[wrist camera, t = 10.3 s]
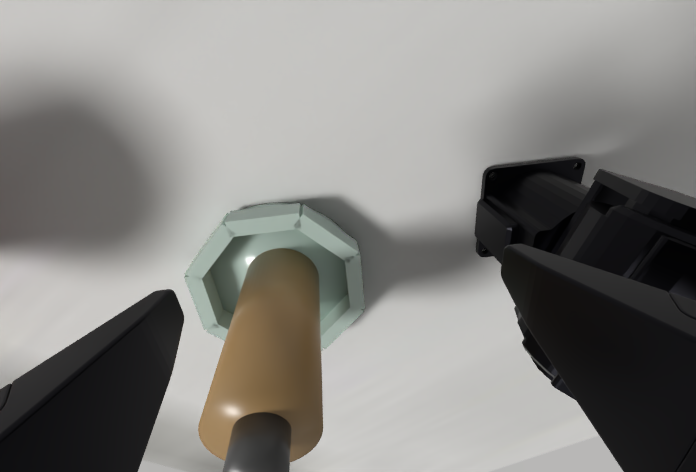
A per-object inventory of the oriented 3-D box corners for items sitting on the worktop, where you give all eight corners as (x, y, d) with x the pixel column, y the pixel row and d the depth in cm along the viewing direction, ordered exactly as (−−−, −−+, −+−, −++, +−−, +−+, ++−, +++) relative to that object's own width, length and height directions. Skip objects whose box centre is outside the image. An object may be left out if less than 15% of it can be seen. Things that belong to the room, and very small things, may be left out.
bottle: (314, 243, 23) (314, 431, 11) (323, 303, 25) (331, 509, 14) (238, 253, 23) (160, 454, 11) (254, 312, 25) (204, 529, 13)
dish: (352, 193, 22) (356, 206, 20) (364, 323, 27) (368, 344, 25) (179, 213, 22) (166, 229, 20) (224, 342, 27) (217, 364, 25)
